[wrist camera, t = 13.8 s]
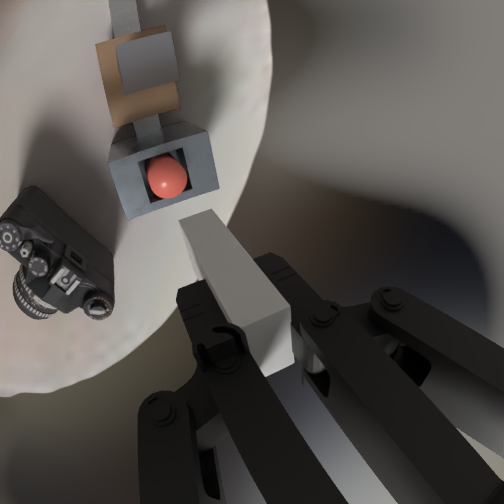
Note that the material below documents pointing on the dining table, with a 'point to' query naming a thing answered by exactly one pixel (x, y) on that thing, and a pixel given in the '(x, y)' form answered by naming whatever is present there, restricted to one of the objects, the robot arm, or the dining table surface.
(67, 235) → the camera
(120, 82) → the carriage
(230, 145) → the dining table surface
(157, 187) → the plunger
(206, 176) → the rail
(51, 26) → the dining table surface
